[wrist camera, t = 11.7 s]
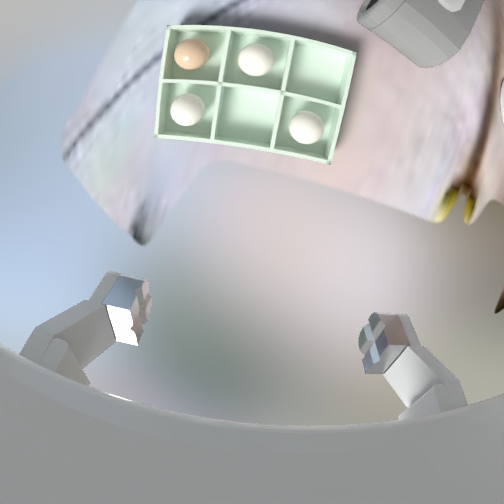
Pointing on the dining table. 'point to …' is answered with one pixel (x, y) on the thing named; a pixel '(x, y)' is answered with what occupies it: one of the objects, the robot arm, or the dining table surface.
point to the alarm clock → (421, 26)
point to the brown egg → (191, 53)
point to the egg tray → (256, 90)
